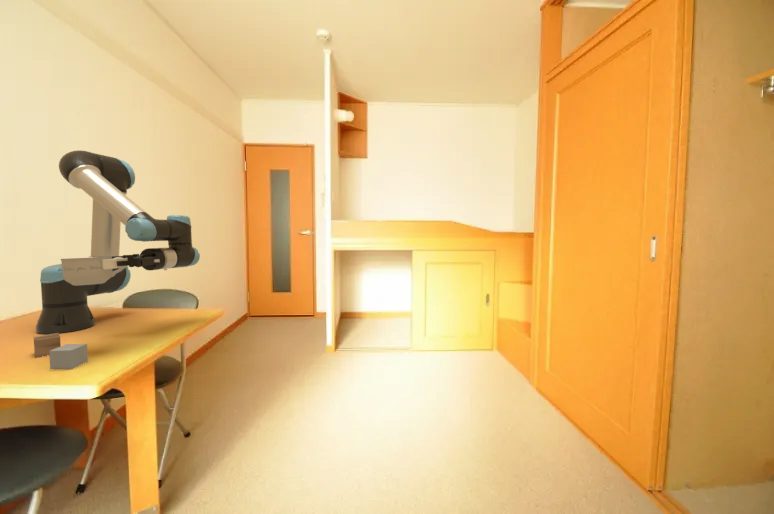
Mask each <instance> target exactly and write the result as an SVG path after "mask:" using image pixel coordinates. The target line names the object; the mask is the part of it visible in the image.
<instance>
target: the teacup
mask: <svg viewBox="0 0 774 514" xmlns="http://www.w3.org/2000/svg"><path fill="white" fill-rule="evenodd" d="M121 258H122V257H116V258H113V259H121ZM105 259H112V257H94V258H88V257H74V258H73V257H72V258H71V257H70V258H60V261H61V264H62V273H63V278H64V280H65V281H67V282H68V283H70V284H72V285H75V286H77V285H92V284H102V283H105V282H106V281H107V280H108V279H110V278H111V277H114V276H115V274H117V273H119V272H120V271H122V270H123V269H125V268H119V269H118V270H115V271H112V269H102V260H105Z"/></svg>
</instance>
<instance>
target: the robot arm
mask: <svg viewBox="0 0 774 514" xmlns="http://www.w3.org/2000/svg"><path fill="white" fill-rule="evenodd" d="M58 169H59V173H60V175H61V176H62V177H63V179H64V180H66V182H67V183H69V184H70V185H71V186H72V187H74V188H76V189H81V190H82V191H83V192H84V193H86V194H87V195H88V196H89V197H91V198H92V211H91V212H92V213H91V217H92V218H91V236H90V237H91V239H90V255H89V256H88V257H87V258H94V257H112V259H105V260H102V269H112V271H115V270H118V269H119V268H125V269H123V270H122V271H120V272H119V273H117V274H115V276H114V277H111V278H110V279H108V280H107V281H106V282H105V283H102V284H92V285H77V286H75V285H72V284H70V283H68V282H67V281H65V280H64V278H63V273H62V263H58V264H52V265H48V266H45V267H44V268H42V269H41V271H40V279H39V282H40V287H41V288H40V291H41V308H42V309H41V312H40V315H39V317H38V320H37V322H36V326H35V332H36V334H39V335H40V334H42V335H48V334H55V333H59V334H61V333H63V334H64V333H70V332H71V333H72V332H77V331H80V330H85V329H88V328H92V327H93V326H95V325H94V324H96V323H95V316H94V314H93V313H92V310H90V307H89V303H88V297H89V296H96V295H97V296H98V295H102V294H111V293H114V292H119V291H121V290H123V289H124V288H126V287H127V286H128V284H129V283H130V280H131V270H130V269H129V268H135V267H136V268H141V267H142V268H143V269H144V270H145V271H157V270H164V271H168V269H176V268H177V269H178V268H187V267H193V266H195V265H196V264H198V262H199V261H200V258H201V257H200V252H199V250H198V249H197V248H196V247H194V246H193V240H192V224H191V223H192V222H191V218H190V216H188V215H181V214H176V215H175V214H171V215H167V217H166V219H156V218H154V217H153V216H151V215H150V214H149V213H147V212H146V211H145V210H144V209H143V208H141V207H140V206H139V205H138V204H137V203H136V202H134V201H133V199H131V198H129V197H128V196H127V193H128V191H127V190H130V189H132V187H133V186H134V184H135V182H136V173H135V171H134V169H133V168H132V166H131V164H129V163H128V162H127V161H125V160H122V159H119V158H117V157H113V156H109V155H108V156H107V155H104V154H99V153H94V152H91V151H88V150H87V151H86V150H72V151H69V152H67V153H65V154H63V156H62V157H61V158H60V160H59V161H58ZM121 224H122V225H124V230H125V233H126V235H127V237H128V238H129V239H131V241H135V242H145V243H146V242H166V241H167V243H168V247H157V248H156V247H153V248H145V249H143V250H142V251H141V252H140V253H133V254H124V255H120V245H121V243H120V241H121ZM116 257H122V258H121V259H113V258H116Z"/></svg>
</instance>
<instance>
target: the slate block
mask: <svg viewBox="0 0 774 514" xmlns="http://www.w3.org/2000/svg"><path fill="white" fill-rule="evenodd" d="M88 360H89V358H88V343H69V344H68V343H67V344H63V345H61V347H58V348H55V349H53V350H50V351H49V370H50V369H63V370H73V368H74V369H76V368H77V366H78V367H79V365H80V366H81V364H82V365H84V364H86V363H87V361H88ZM85 362H86V363H85ZM83 363H84V364H83ZM75 367H76V368H75Z"/></svg>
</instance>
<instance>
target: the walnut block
mask: <svg viewBox="0 0 774 514" xmlns="http://www.w3.org/2000/svg"><path fill="white" fill-rule="evenodd" d="M61 346H62V345H61V335H60V333H54V334H42V335H36V336H33V348H34V350H33V351H34V358H35V359H37V357H38V358H42V356H44V357H48V356H47V355H49V351H50V350H53V349H55V348H58V347H61ZM49 356H50V355H49Z"/></svg>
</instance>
